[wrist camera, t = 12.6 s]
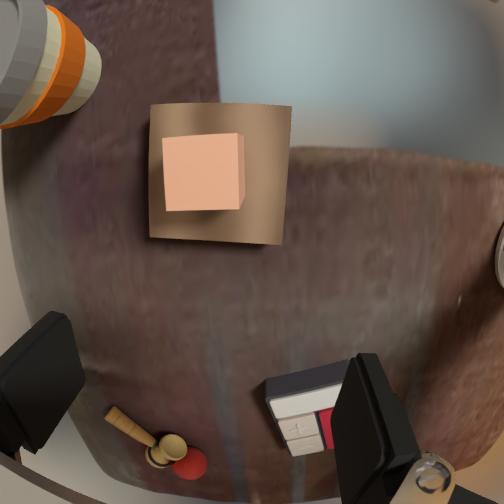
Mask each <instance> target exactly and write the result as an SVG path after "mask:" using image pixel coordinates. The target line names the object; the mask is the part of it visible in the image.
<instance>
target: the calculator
mask: <svg viewBox="0 0 504 504" xmlns="http://www.w3.org/2000/svg"><path fill="white" fill-rule="evenodd" d="M349 362H350V360H343V361H340V362H336V363H332V364H329V365H325V366H321V367H317V368H313V369H309V370H304V371H300V372H296V373H291V374H287V375H282V376H277V377H272V378H268V379H266V380H265V401H266V403H267V405H268V408H269V410H270V412H271V415H272V417H273V419H274V421H275V424H276V426H277V428H278V430H279V433H280V435H281V437H282V439H283V441H284V444H285V446H286V448H287V450H288V452H289V454H290V455H292V456H299V455H304V454H309V453H314V452H319V451H323V450H324V449H326V448H328V449H333V448H334V444H333V437H332V431H331V424H330V418H331V413H332V411H333V408H334V405H335V403H336V400H337V397H338V395H339V392H340V389H341V386H342V383H343V380H344V377H345V374H346V371H347V368H348V365H349Z"/></svg>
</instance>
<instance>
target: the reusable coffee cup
mask: <svg viewBox="0 0 504 504" xmlns="http://www.w3.org/2000/svg"><path fill="white" fill-rule="evenodd" d="M100 74H101V58H100V54H99V52H98V50H97V49H96V48H95V47H94V45H92V44H91V43H90V42H89V41H88V40H86V39H85V38H84V36H83V34H82V32H81V30H80V29H79V28H78V27H77V26H76V25H75V24H74V23H73V22H71V21H70V20H69V19H68V18H67V17H65V16H64V15H63V14H62V13H61V12H59V11H58V10H57V9H56V8H54V7H52V6H50V5H45V4H44V2H43V1H42V0H0V129H7V128H12V127H17V126H22V125H26V124H32V123H37V122H41V121H43V120H46V119H48V118H49V117H51V116H56V115H63V114H68V113H71V112H74V111H75V110H77V109H79V108H80V107H81V106H82V105H84V104H85V103H86V101H87V100H88V99H89V98H90V97H91V95H92V94H93V92H94V91H95V88H96V86H97V84H98V81H99V78H100Z"/></svg>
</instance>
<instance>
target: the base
mask: <svg viewBox="0 0 504 504" xmlns="http://www.w3.org/2000/svg"><path fill="white" fill-rule="evenodd" d="M291 111H292V107H291V106H279V105H265V104H243V103H176V104H155V105H151V114H150V135H149V231H150V237H158V238H175V239H192V240H209V241H225V242H242V243H257V244H273V245H282V237H283V225H284V213H285V200H286V187H287V174H288V159H289V144H290V128H291ZM227 133H238V134H240V135H242V136H244V158H245V198H244V200H243V202H242V204H241V207H240V209H227V210H186V211H166V200H165V185H164V168H163V146H162V138H168V137H180V136H192V135H207V134H227Z"/></svg>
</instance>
